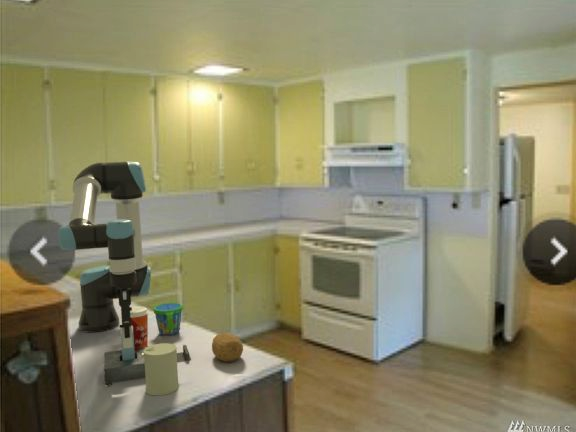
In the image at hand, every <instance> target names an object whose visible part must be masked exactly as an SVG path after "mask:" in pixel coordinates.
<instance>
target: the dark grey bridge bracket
mask: <svg viewBox="0 0 576 432" xmlns="http://www.w3.org/2000/svg"><path fill="white" fill-rule="evenodd" d="M188 361H189V362H190V361H192V358H191V355H190V352H189V349H188V346H187V344H183V345H182V352H177V363H183V362H188Z"/></svg>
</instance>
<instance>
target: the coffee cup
mask: <svg viewBox="0 0 576 432" xmlns="http://www.w3.org/2000/svg"><path fill="white" fill-rule="evenodd" d="M148 314H149V310H148V308H147V307H145V306H132V311H130V317H131V323H132V325H131V326H133V336H134V348H140V347H147V346H148V344H149V342H148V341H149V340H148V336H149V335H148V329H149V328H148V325H149V324H148V323H149V321H148V318H149V317H148Z"/></svg>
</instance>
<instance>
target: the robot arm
mask: <svg viewBox="0 0 576 432" xmlns="http://www.w3.org/2000/svg"><path fill="white" fill-rule="evenodd" d="M143 171H144V170H143V167H142V164H141V163H140V162H137V161H113V162H109V161H108V162H96V163H93V164H91V165H89V166H87V167H85V168H84V169H82V170H81V171H80V172H79V173H78V174H77V176H76V177H75V178H74V180H73V184H72V191H73V193H74V195H73V201H72V205H71V210H70V215H69V219H68V220H69V221H68V225H63V226H60V227H59V228H58V233H57V235H58V236H57V237H58V244H59V248H60V249H61V250H63V251H79V250H90V249H105V248H107V251H108V261H107V262H106V265H99V266H96V267H91V268H88V269H86V270H84V271H82V272H81V273H80V274H79V275H80V276H79V281H80V282H79V286H80V296H81V306H82V307H81V313H80V315H79V316H80V317H79V320H78V330H79V331H80V332H84V333H85V332H86V333H98V332H99V333H100V332H104V331H109V330H112V329H114V328H117V327H118V326H119V329H120V328H122V338H123V349H125V348H132V347H133V341H132V326H131V325H132V323H131V317H130V311H132V307H133V306H132V307H131V305H132V298H139V297H146V296H147V295H149V293H150V289H151V281H152V279H151V278H152V277H151V276H152V275H151V274H152V266H149V265H148V262H147V261H146V260H144V258H143V257H144V255H143V244H142V243H143V242H142V229H141V215H140V213H141V211H140V200H141V199H143V196H144V195H143V193H146V191H147V186H146V181H145V176H144V172H143ZM103 194H109V195H110V199H111V200H113V202H114V203H115V211H116V212H115V213H116V219H112V220H109V221H108V222H106V223H95V221H96V220H95V218H96V214H97V213H96V212H97V204H98V197H99V196H100V195H103ZM116 299H117V300H118V306H119V307H120V314H121V315H120V316H121V324H120V316H119V314H118V312H117V311H116V307H115V303H114V300H116Z"/></svg>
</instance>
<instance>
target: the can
mask: <svg viewBox="0 0 576 432" xmlns="http://www.w3.org/2000/svg"><path fill="white" fill-rule="evenodd" d="M177 349H178V347H177V346H176V344H173V343H165V342H161V343H156V344H151V345H149V347H147V348H145V349H144V351H143V352H144V362H145V377H146V378H145V392H146V393H147V394H148V395H152V396H163V395H164V396H165V395H169V394H172V393H174V392H176V391H177V390H178V389H179V388H180V384H179V374H178V373H179V372H178V362H177V353H178V352H177Z"/></svg>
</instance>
